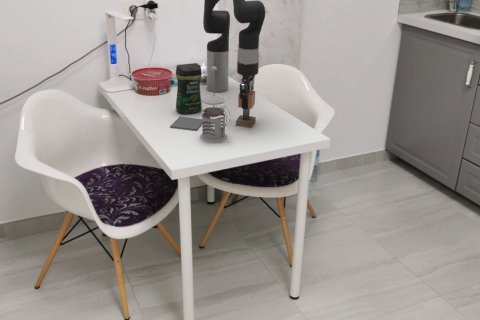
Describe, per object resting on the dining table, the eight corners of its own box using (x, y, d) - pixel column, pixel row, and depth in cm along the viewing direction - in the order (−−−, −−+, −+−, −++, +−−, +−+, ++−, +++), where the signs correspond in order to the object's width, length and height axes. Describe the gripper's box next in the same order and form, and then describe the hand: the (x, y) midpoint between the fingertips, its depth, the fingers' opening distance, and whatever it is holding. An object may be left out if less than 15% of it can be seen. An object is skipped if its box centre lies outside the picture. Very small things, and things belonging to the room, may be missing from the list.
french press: (212, 129, 191) (212, 60, 180) (237, 138, 184) (239, 67, 173) (193, 137, 184) (192, 66, 173) (218, 146, 177) (219, 73, 166)
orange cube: (241, 102, 196) (241, 89, 194) (254, 104, 195) (255, 91, 193) (238, 107, 192) (238, 94, 189) (251, 108, 191) (252, 95, 188)
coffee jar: (180, 116, 201) (179, 68, 193) (173, 109, 208) (172, 62, 200) (204, 112, 205) (204, 65, 197) (196, 106, 212) (196, 60, 204)
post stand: (239, 119, 200) (240, 91, 195) (255, 121, 198) (256, 93, 193) (235, 125, 194) (236, 96, 189) (251, 127, 193) (253, 98, 188)
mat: (179, 117, 200) (179, 116, 199) (205, 120, 198) (205, 119, 197) (170, 127, 191) (170, 126, 191) (196, 130, 189) (196, 129, 189)
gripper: (242, 54, 193) (241, 98, 200) (232, 64, 180) (231, 111, 188) (262, 55, 191) (260, 100, 199) (254, 66, 179) (252, 114, 186)
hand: (246, 105), depth 193 cm, fingers closed on orange cube, 5 cm apart
